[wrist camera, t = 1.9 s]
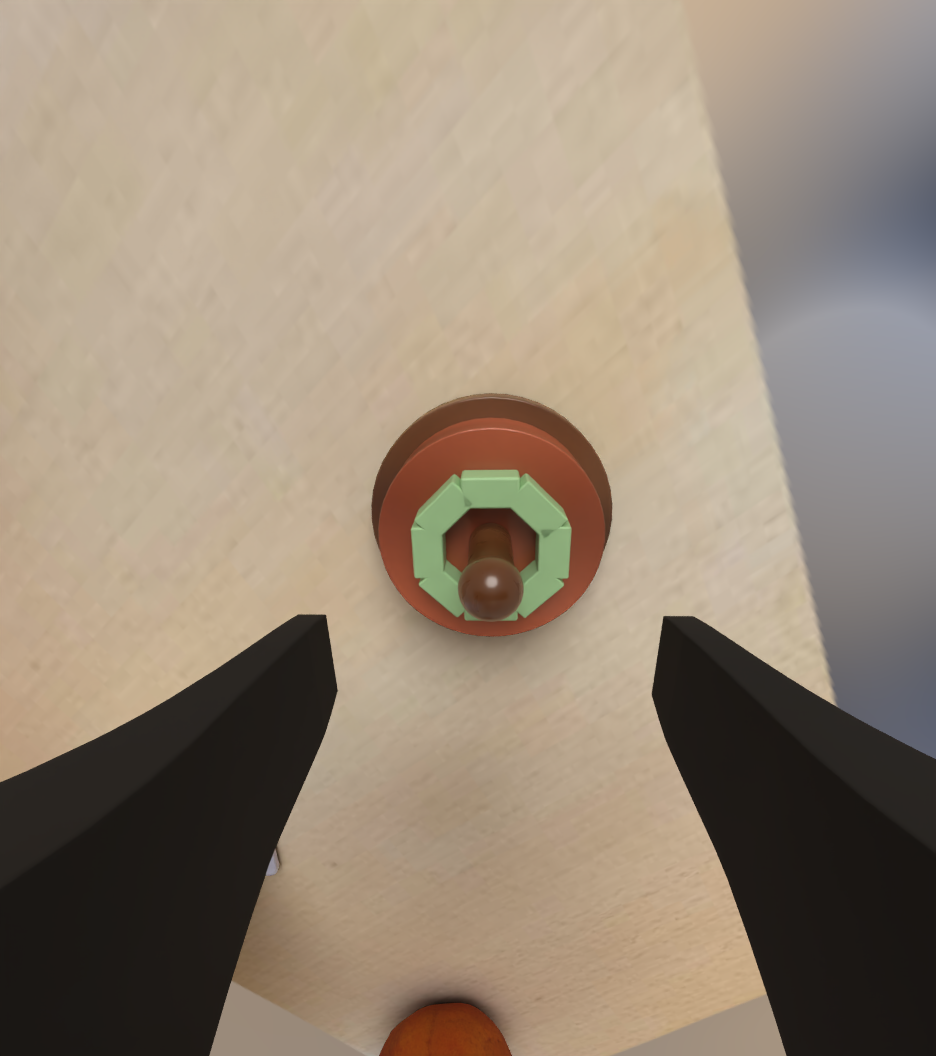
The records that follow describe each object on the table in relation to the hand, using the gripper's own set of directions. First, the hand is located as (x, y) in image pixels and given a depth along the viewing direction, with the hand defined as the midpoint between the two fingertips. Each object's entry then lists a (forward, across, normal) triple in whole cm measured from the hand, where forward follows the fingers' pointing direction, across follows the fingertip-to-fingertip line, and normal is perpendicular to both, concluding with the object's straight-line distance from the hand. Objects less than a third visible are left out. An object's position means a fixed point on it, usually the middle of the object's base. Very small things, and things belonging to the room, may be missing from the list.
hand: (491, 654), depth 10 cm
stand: (+9, 0, 0) cm, 9 cm away
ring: (+6, 0, 0) cm, 6 cm away
